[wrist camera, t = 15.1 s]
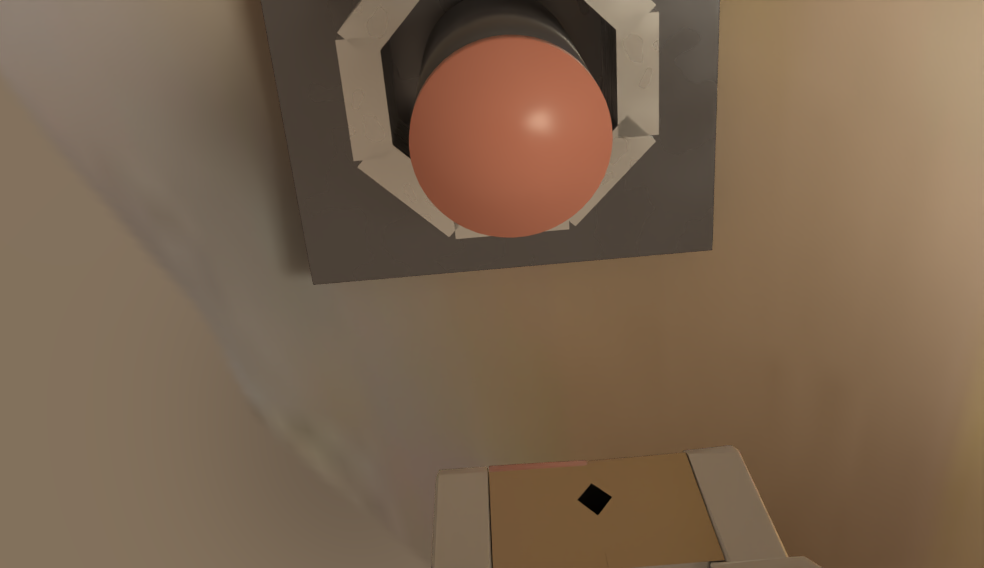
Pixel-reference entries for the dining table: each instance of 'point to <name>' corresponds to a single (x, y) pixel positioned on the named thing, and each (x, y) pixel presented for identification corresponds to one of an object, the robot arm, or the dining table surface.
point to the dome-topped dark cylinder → (507, 120)
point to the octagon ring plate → (386, 123)
